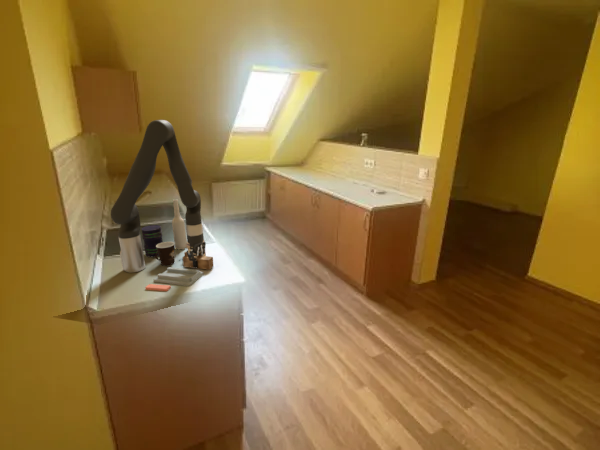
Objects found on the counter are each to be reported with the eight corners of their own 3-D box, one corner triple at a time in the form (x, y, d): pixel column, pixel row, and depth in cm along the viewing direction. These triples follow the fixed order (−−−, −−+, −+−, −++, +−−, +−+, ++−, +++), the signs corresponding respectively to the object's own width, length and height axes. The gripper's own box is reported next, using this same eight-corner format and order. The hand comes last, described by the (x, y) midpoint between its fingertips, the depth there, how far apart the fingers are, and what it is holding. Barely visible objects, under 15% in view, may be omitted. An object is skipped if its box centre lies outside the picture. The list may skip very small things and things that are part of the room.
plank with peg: (183, 266, 160) (182, 253, 158) (188, 263, 164) (186, 250, 162) (209, 269, 157) (208, 256, 155) (213, 266, 161) (212, 253, 159)
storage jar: (141, 256, 175) (136, 229, 171) (152, 249, 184) (148, 224, 180) (157, 257, 173) (153, 231, 169) (168, 251, 182) (165, 225, 178)
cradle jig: (153, 281, 147) (153, 276, 146) (170, 270, 158) (169, 265, 157) (189, 286, 143) (188, 280, 142) (203, 274, 154) (203, 268, 153)
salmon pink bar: (145, 290, 141) (145, 287, 140) (150, 287, 143) (149, 284, 143) (167, 292, 139) (166, 288, 138) (171, 288, 142) (170, 285, 141)
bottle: (175, 250, 183) (169, 201, 174) (174, 246, 188) (168, 199, 180) (188, 248, 185) (182, 200, 177) (186, 244, 191) (180, 198, 182)
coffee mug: (171, 258, 172) (168, 240, 169) (180, 262, 167) (177, 244, 164) (149, 265, 164) (146, 247, 161) (158, 270, 158) (155, 251, 155)
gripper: (195, 227, 163) (199, 259, 168) (179, 236, 150) (183, 271, 155) (209, 228, 161) (212, 260, 166) (193, 238, 148) (197, 272, 153)
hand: (198, 265), depth 161 cm, fingers closed on plank with peg, 4 cm apart
